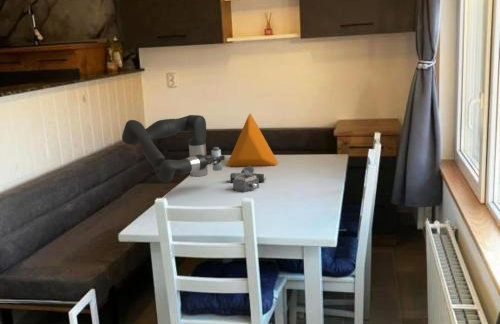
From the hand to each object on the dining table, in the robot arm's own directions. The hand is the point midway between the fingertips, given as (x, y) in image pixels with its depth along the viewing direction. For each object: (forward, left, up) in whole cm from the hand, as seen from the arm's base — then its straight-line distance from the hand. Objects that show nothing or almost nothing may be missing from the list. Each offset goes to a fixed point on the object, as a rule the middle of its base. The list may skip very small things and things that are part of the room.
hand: (220, 156), depth 278 cm
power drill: (+1, +20, -16) cm, 26 cm away
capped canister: (0, -3, -6) cm, 7 cm away
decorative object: (-21, +43, -16) cm, 51 cm away
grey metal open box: (+15, +4, -16) cm, 22 cm away
